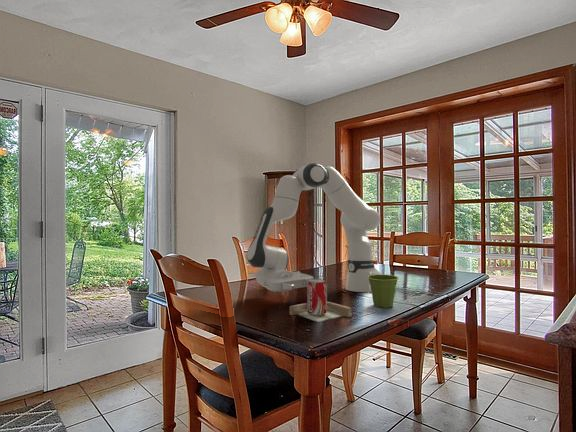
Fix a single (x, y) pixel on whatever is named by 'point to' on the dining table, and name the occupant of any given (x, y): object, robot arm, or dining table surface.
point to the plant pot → (383, 289)
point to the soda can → (317, 297)
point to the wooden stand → (331, 313)
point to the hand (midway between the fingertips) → (302, 285)
